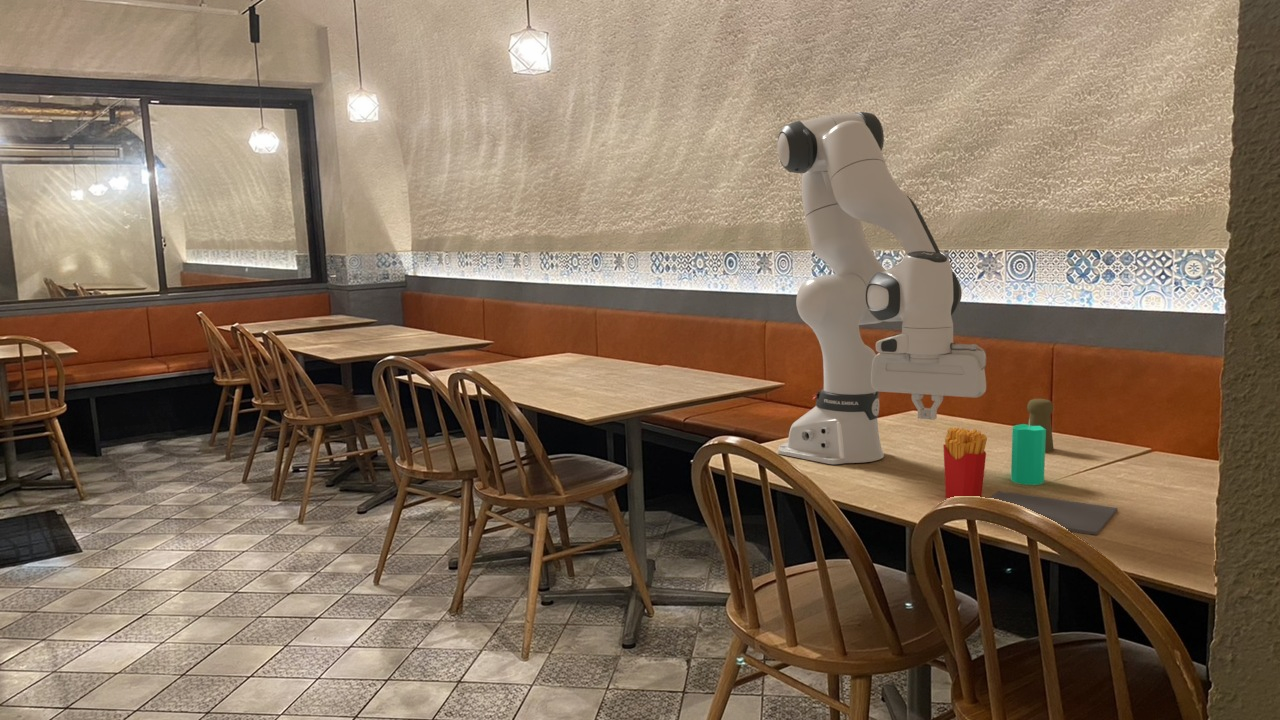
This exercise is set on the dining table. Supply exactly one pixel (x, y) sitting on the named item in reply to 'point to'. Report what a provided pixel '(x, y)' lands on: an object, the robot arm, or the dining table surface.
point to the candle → (1028, 454)
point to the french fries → (964, 462)
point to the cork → (1042, 418)
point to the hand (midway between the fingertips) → (927, 418)
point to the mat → (1064, 511)
